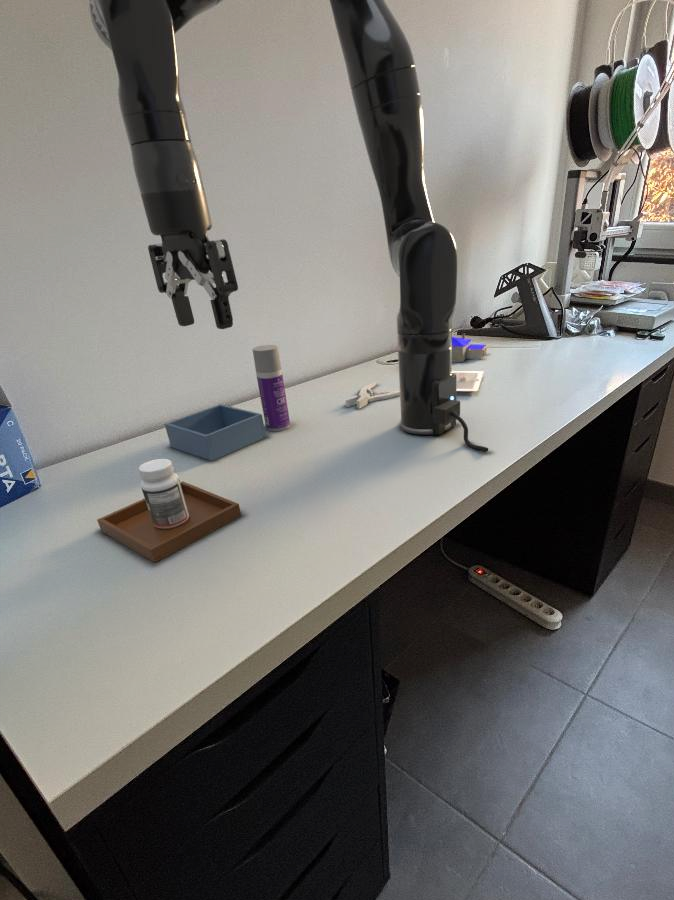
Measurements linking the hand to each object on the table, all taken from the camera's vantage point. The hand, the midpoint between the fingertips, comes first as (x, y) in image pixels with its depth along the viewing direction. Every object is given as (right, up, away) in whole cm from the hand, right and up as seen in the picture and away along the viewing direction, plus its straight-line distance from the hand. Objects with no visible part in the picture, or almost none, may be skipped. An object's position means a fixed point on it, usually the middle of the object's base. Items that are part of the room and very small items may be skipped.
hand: (205, 326), depth 73 cm
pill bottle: (-4, -27, -1) cm, 27 cm away
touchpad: (+42, +3, +45) cm, 62 cm away
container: (+4, -9, +29) cm, 31 cm away
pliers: (+22, -1, +42) cm, 47 cm away
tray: (-4, -27, -1) cm, 27 cm away
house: (+43, +15, +67) cm, 81 cm away
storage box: (-6, -13, +24) cm, 28 cm away
